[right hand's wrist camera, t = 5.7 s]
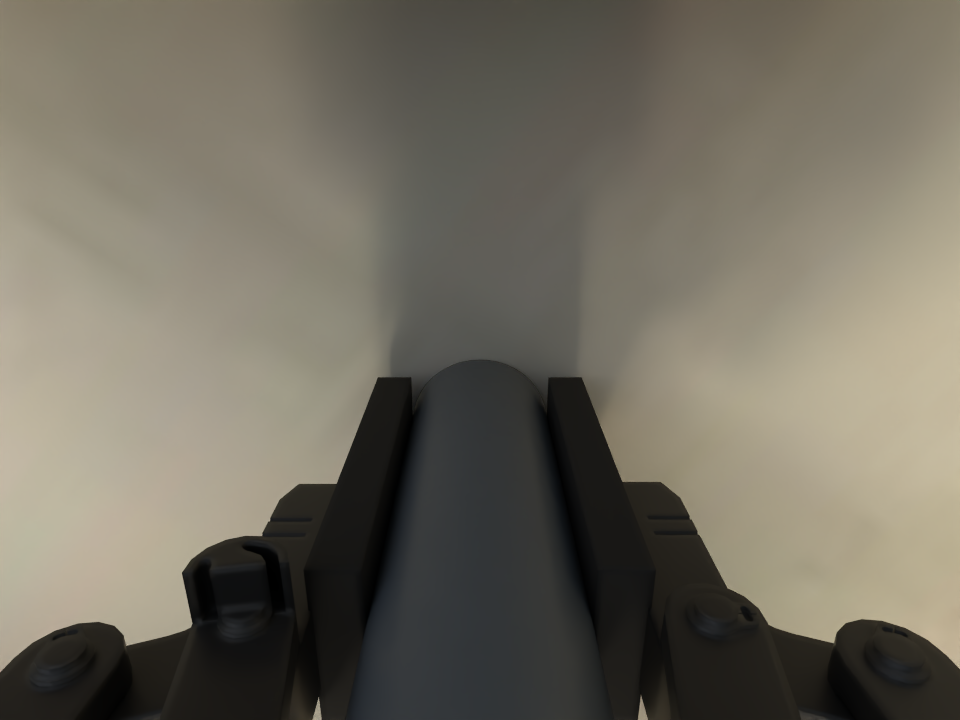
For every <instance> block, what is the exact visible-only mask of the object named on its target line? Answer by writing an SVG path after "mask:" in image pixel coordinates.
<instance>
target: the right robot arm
mask: <svg viewBox="0 0 960 720" xmlns="http://www.w3.org/2000/svg"><path fill="white" fill-rule="evenodd" d="M412 418H413V410H412V387H411V377H385V378H378V379H377V381H376V384H375V387H374V389H373V392H372V394H371V397H370V399H369V402H368V405H367V407H366V410H365V412H364V415H363V417H362V420H361V423H360V425H359V428H358V430H357V433H356V436H355V438H354V441H353V443H352V446H351V448H350V451H349V454H348V456H347V459H346V461H345V464H344V466H343V469H342V472H341V474H340V477H339V479H338V482H337V484H299V485H297V486H296V487H295V488H294V489H292V490H291V491H290V492H289V493H288V494H286V495H285V496H284V497H283V498H281V499H280V500H279V502H278V504H277V506H276V508H275V510H274V512H273V514H272V516H271V518H270V522H268V524H267V525H266V527H265V529H264V531H263V533H262V534H263V535H262V536H243V537H238V538H233V539H228V540H225V541H222V542H220V543H218V544H215V545H213V546H211V547H208V548H206V549H205V550H204V551H202V552H201V553H200V554H198V555H197V556H196V557H194V558H193V559H192V560H191V561H190V562H189V564H188V565H187V567H186V568H185V569H184V571H183V572H182V575H183V580H184V585H185V589H186V594H187V599H188V604H189V609H190V613H191V618H192V623H193V624H192V627H191V628H189V629H187V630H185V631H182V632H179V633H176V634H173V635H170V636H166V637H162V638H158V639H154V640H149V641H145V642H141V643H137V644H133V645H129V646H126V643H125V640H124V636H123V634H122V633H121V632H120V631H119V630H118V629H117V628H116V627H115V626H113V625H109V624H105V623H101V622H92V623H80V624H75V625H72V626H69V627H66V628H63V629H60V630H56V631H54V632H52V633H50V634H48V635H46V636H45V637H43V638H41V639H39V640H37V641H35V642H33V643H32V644H31V645H30V646H28V647H27V648H26V649H25V650H23V651H22V652H21V653H20V654H19V655H17V656H16V657H15V658H14V659H13V660H12V661H11V662H10V663H9V664H8V665H7V666H6V667H5V668H4V669H3V670H2V671H1V672H0V720H312V719H313V715H314V712H315V708H316V705H317V701H318V697H319V700H320V708H321V716H322V720H345V718H346V713H347V709H348V704H349V700H350V696H351V691H352V687H353V682H354V678H355V673H356V669H357V664H358V660H359V655H360V651H361V646H362V642H363V637H364V633H365V628H366V624H367V619H368V615H369V611H370V606H371V602H372V597H373V593H374V588H375V584H376V579H377V575H378V570H379V566H380V561H381V557H382V552H383V548H384V543H385V539H386V534H387V530H388V526H389V521H390V517H391V512H392V508H393V503H394V499H395V494H396V490H397V485H398V481H399V476H400V472H401V467H402V463H403V458H404V454H405V449H406V445H407V441H408V436H409V432H410V427H411V423H412ZM547 419H548V423H549V428H550V432H551V437H552V441H553V446H554V450H555V455H556V459H557V464H558V468H559V473H560V477H561V482H562V486H563V491H564V495H565V500H566V504H567V509H568V513H569V518H570V522H571V527H572V531H573V536H574V540H575V545H576V549H577V554H578V558H579V563H580V567H581V572H582V576H583V581H584V585H585V590H586V594H587V599H588V603H589V608H590V612H591V617H592V621H593V626H594V630H595V635H596V639H597V644H598V648H599V653H600V657H601V662H602V666H603V671H604V675H605V680H606V684H607V689H608V693H609V698H610V702H611V707H612V711H613V716H614V720H638V713H639V705H640V697H641V696H642V699H643V703H644V707H645V710H646V714H647V717H648V720H960V669H959V668H958V667H957V666H956V665H955V664H954V663H953V662H952V661H951V660H950V659H949V658H948V657H947V656H946V655H945V654H944V653H943V652H942V651H940V650H939V649H938V648H937V647H935V646H934V645H933V644H932V643H931V642H929V641H928V640H926V639H925V638H923V637H921V636H919V635H917V634H915V633H913V632H911V631H910V630H908V629H906V628H903V627H900V626H897V625H893V624H890V623H887V622H884V621H876V620H864V619H861V620H857V621H853V622H849V623H846V624H845V625H844V626H843V627H842V628H841V629H840V630H839V631H838V632H837V634H836V638H835V642H834V643H829V642H825V641H821V640H817V639H813V638H808V637H804V636H800V635H796V634H792V633H789V632H786V631H782V630H779V629H776V628H774V627H772V626H770V625H768V623H767V621H766V620H765V618H764V616H763V615H762V613H761V612H760V610H759V609H758V608H757V607H756V606H755V605H754V604H753V603H751V602H750V601H749V600H748V599H747V598H745V597H744V596H742V595H740V594H738V593H736V592H734V591H732V590H730V589H728V588H727V587H726V585H725V583H724V581H723V579H722V577H721V575H720V573H719V571H718V569H717V568H716V566H715V564H714V562H713V560H712V558H711V556H710V554H709V552H708V550H707V548H706V547H705V545H704V543H703V541H702V539H701V537H700V535H698V534H697V529H696V527H695V526H694V524H693V522H692V520H690V518H689V514H688V512H687V510H686V508H685V506H684V504H683V503H682V501H681V499H680V497H678V496H677V495H676V494H675V493H674V492H672V491H671V490H670V489H669V488H667V487H666V486H665V485H664V484H662V483H661V482H622V480H621V478H620V475H619V473H618V470H617V468H616V465H615V462H614V460H613V457H612V455H611V452H610V449H609V447H608V444H607V442H606V439H605V437H604V434H603V431H602V429H601V426H600V424H599V421H598V419H597V416H596V413H595V411H594V408H593V406H592V403H591V400H590V398H589V395H588V393H587V390H586V388H585V385H584V382H583V380H582V378H548V401H547Z"/></svg>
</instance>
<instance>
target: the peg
mask: <svg viewBox="0 0 960 720" xmlns="http://www.w3.org/2000/svg"><path fill="white" fill-rule="evenodd" d="M345 720H614V716H613V711H612V707H611V702H610V698H609V693H608V689H607V684H606V680H605V675H604V671H603V666H602V662H601V657H600V653H599V648H598V644H597V639H596V635H595V630H594V626H593V621H592V617H591V612H590V608H589V603H588V599H587V594H586V590H585V585H584V581H583V576H582V572H581V567H580V563H579V558H578V554H577V549H576V545H575V540H574V536H573V531H572V527H571V522H570V518H569V513H568V509H567V504H566V500H565V495H564V491H563V486H562V482H561V477H560V473H559V468H558V464H557V459H556V455H555V450H554V446H553V441H552V437H551V432H550V428H549V423H548V419H547V414H546V410H545V406H544V403H543V400H542V397H541V395H540V393H539V391H538V390H537V389H536V387H535V386H534V384H533V383H532V382H531V381H530V380H529V379H528V378H527V377H526V376H524V375H523V374H522V373H521V372H519V371H517V370H516V369H514V368H512V367H510V366H508V365H505V364H502V363H499V362H494V361H489V360H471V361H465V362H461V363H458V364H455V365H452V366H450V367H448V368H446V369H444V370H442V371H441V372H439V373H438V374H437V375H435V376H434V377H433V378H432V379H431V380H430V381H429V382H428V383H427V384H426V385H425V387H424V388H423V390H422V391H421V393H420V395H419V397H418V399H417V402H416V405H415V409H414V414H413V418H412V423H411V427H410V432H409V436H408V441H407V445H406V449H405V454H404V458H403V463H402V467H401V472H400V476H399V481H398V485H397V490H396V494H395V499H394V503H393V508H392V512H391V517H390V521H389V526H388V530H387V534H386V539H385V543H384V548H383V552H382V557H381V561H380V566H379V570H378V575H377V579H376V584H375V588H374V593H373V597H372V602H371V606H370V611H369V615H368V619H367V624H366V628H365V633H364V637H363V642H362V646H361V651H360V655H359V660H358V664H357V669H356V673H355V678H354V682H353V687H352V691H351V696H350V700H349V704H348V709H347V713H346V718H345Z"/></svg>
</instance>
